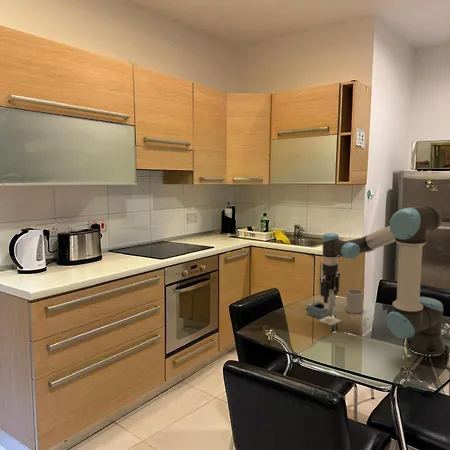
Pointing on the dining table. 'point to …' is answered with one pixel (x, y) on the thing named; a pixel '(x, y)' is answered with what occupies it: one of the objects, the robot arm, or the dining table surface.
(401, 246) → the robot arm
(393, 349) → the dining table surface
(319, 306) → the grey-blue open box
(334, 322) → the mat
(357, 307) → the mug
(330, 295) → the key
